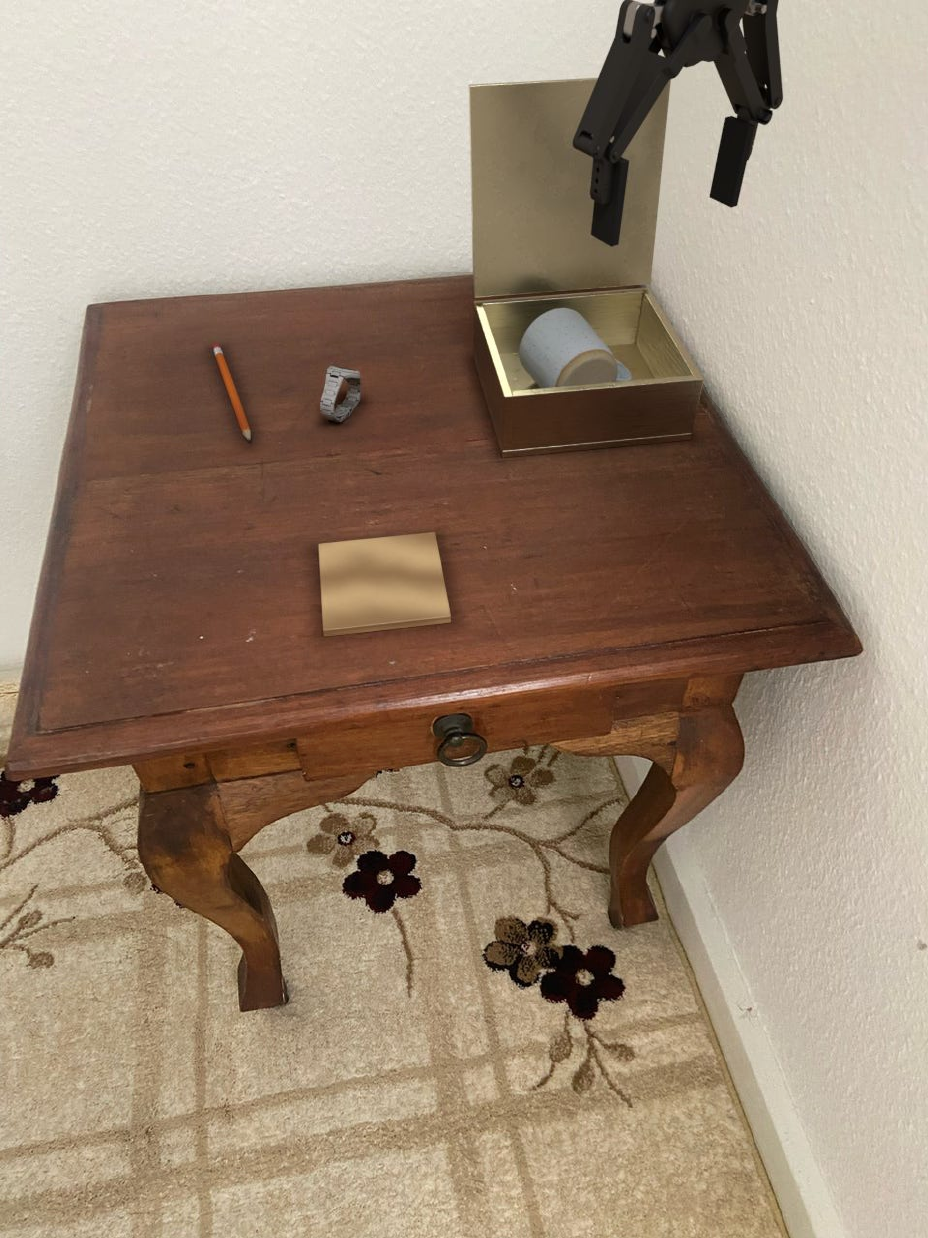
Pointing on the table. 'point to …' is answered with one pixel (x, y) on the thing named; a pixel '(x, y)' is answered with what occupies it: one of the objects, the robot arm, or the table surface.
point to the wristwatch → (332, 388)
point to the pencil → (232, 392)
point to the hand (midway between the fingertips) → (665, 220)
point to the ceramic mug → (567, 352)
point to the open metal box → (591, 412)
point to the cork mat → (382, 584)
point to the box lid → (554, 192)
